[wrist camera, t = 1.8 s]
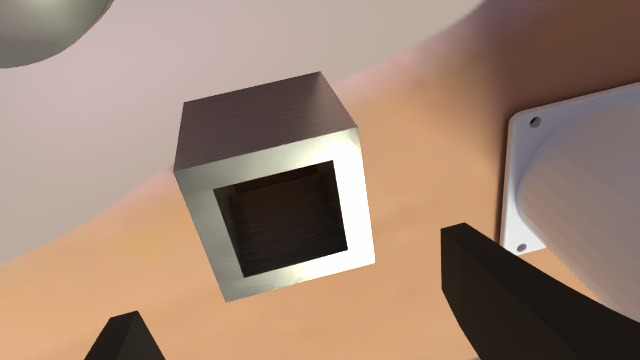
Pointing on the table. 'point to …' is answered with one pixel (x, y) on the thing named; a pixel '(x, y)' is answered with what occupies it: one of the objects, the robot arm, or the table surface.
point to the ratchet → (44, 27)
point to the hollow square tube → (277, 199)
